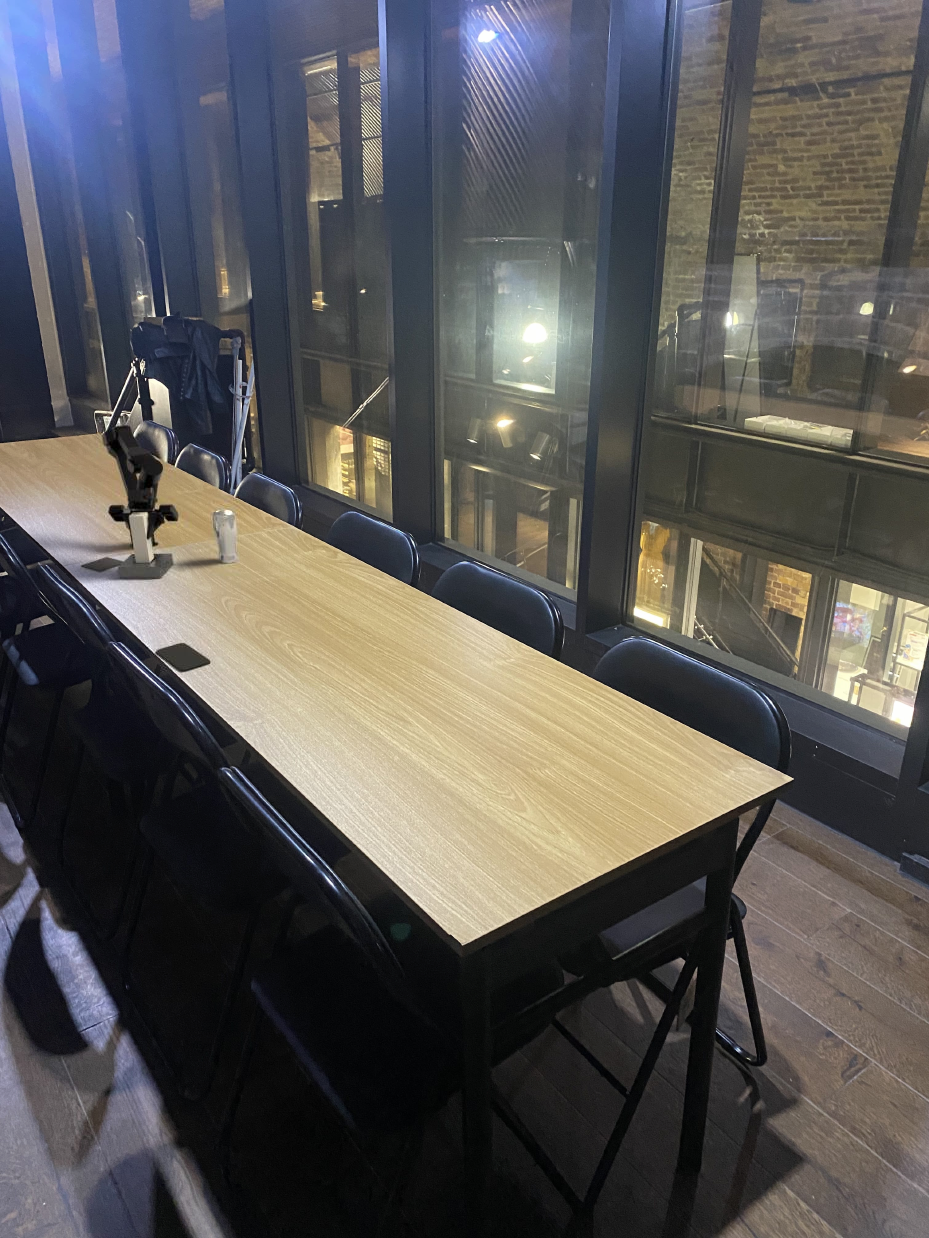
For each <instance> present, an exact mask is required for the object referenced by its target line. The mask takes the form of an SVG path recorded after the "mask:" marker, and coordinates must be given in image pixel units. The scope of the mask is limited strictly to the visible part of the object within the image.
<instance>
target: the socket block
mask: <svg viewBox="0 0 929 1238" xmlns="http://www.w3.org/2000/svg"><path fill="white" fill-rule="evenodd" d="M153 555H154V559H153V560H152V561H151V562H150V563H136V560H135V553H131V554H130V555H129V556H127V558H126V559H125V560H123V561H124V562H123V563H121V564H120V565H119V566H117V573H118V577H119V578H118V580H119V579H120V580H121V579H122V580H123V579H126V580H128V579H130V580H131V579H133V580H134V579H137V580H138V579H162V578H163V577H164V576H165V575H166V574H167V572H168V571H170V570H171V568H172V567H173V566H174V560H173V554H172V553H153Z"/></svg>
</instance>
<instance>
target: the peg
mask: <svg viewBox="0 0 929 1238" xmlns="http://www.w3.org/2000/svg"><path fill="white" fill-rule="evenodd" d="M129 520H130V527H131V533H132V540H133V547H132V548H133V554H135V560H136V563H150V562H151V561H152V560H153V559H154V555H153V554H154V550H153V546H152V541H151V537H150V539H149V540H148V539H147V530H148V525H149V520H148V513H147V512H133V513H132V514H131V515H130V516H129Z"/></svg>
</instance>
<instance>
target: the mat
mask: <svg viewBox="0 0 929 1238" xmlns="http://www.w3.org/2000/svg"><path fill="white" fill-rule="evenodd" d="M124 561H125V560H120V559H116V558H113V557H109V556H105V557H102V558H99V559H96V560H92V561H90V562H86V563H83V564H81V565H80V567H81V568H84V569H88V570H91V571H95V572H99V573H101V572H104V571H108V570H110V569H113V568H116V567H117V568H118V566H119V565H120V564H121V563H123V562H124Z"/></svg>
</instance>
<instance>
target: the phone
mask: <svg viewBox="0 0 929 1238" xmlns="http://www.w3.org/2000/svg"><path fill="white" fill-rule="evenodd" d="M155 653H156V654H157V655H158V656H160V658H162V659H163V660H164V661H165V662H167V663H169V664H170V665H171V666H172V667H174V668H175V669H176V670H177V671H179V672H181V673H186V672H189V671H192V670H193V671H194V670H195V669H200V668H202V667H205V666H208V665H210V664H211V659H209V658H207V657H206V656H205V655H203V654H202V653H200V652H198V651H197V650H196V649H194V648H193V647H191V646H190V645H188V643H185V642H178V643H175V644H173V645H169V646H165V647H162V648H159V649H157V650H156V651H155Z"/></svg>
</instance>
